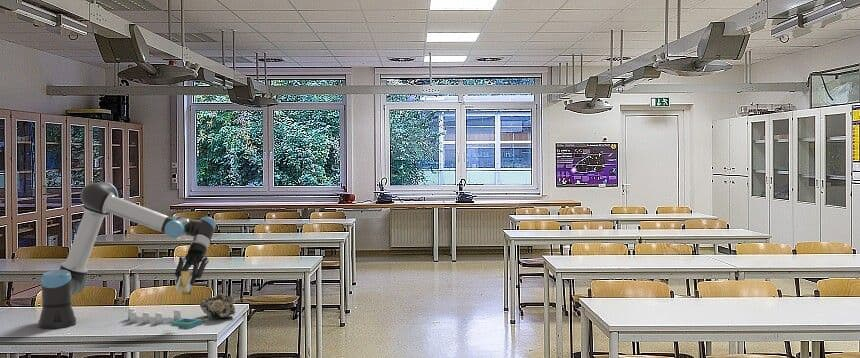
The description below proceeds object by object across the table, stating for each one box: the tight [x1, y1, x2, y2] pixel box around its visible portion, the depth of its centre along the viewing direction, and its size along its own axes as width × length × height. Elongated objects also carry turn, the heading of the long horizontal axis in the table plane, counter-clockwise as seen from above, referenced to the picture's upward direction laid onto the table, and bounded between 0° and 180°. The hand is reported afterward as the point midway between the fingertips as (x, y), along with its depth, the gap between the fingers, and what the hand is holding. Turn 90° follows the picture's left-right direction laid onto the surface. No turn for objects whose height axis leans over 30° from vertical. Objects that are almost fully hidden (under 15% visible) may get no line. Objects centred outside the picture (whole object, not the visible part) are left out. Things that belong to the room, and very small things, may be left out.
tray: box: [171, 317, 203, 329], centre depth 362 cm, size 9×9×2 cm
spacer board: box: [118, 308, 184, 326], centre depth 369 cm, size 25×14×5 cm, turn 79°
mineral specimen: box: [198, 293, 236, 320], centre depth 379 cm, size 16×18×10 cm
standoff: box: [180, 269, 192, 296], centre depth 361 cm, size 4×4×10 cm
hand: (182, 290), depth 358 cm, fingers closed on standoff, 4 cm apart
